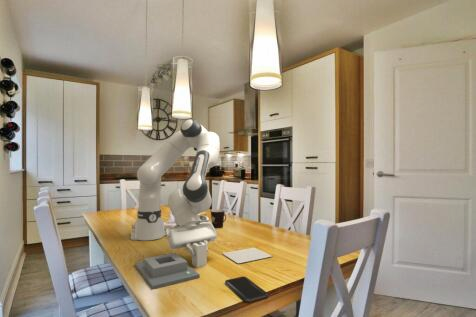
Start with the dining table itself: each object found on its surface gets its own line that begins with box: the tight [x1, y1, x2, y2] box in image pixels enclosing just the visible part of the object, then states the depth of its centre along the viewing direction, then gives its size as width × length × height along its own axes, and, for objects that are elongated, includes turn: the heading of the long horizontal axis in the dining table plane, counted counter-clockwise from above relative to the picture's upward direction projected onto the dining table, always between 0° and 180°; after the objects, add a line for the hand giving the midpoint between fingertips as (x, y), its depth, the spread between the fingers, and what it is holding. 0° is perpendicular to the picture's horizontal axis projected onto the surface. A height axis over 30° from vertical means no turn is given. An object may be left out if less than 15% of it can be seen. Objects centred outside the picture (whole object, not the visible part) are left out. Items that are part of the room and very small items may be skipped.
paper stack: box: [221, 246, 273, 264], centre depth 111 cm, size 23×25×1 cm
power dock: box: [134, 252, 200, 290], centre depth 100 cm, size 24×16×4 cm, turn 33°
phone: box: [224, 275, 269, 304], centre depth 86 cm, size 8×1×15 cm
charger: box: [191, 242, 208, 268], centre depth 107 cm, size 4×4×8 cm
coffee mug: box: [210, 209, 227, 229], centre depth 168 cm, size 12×9×10 cm
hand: (200, 253), depth 106 cm, fingers closed on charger, 4 cm apart
